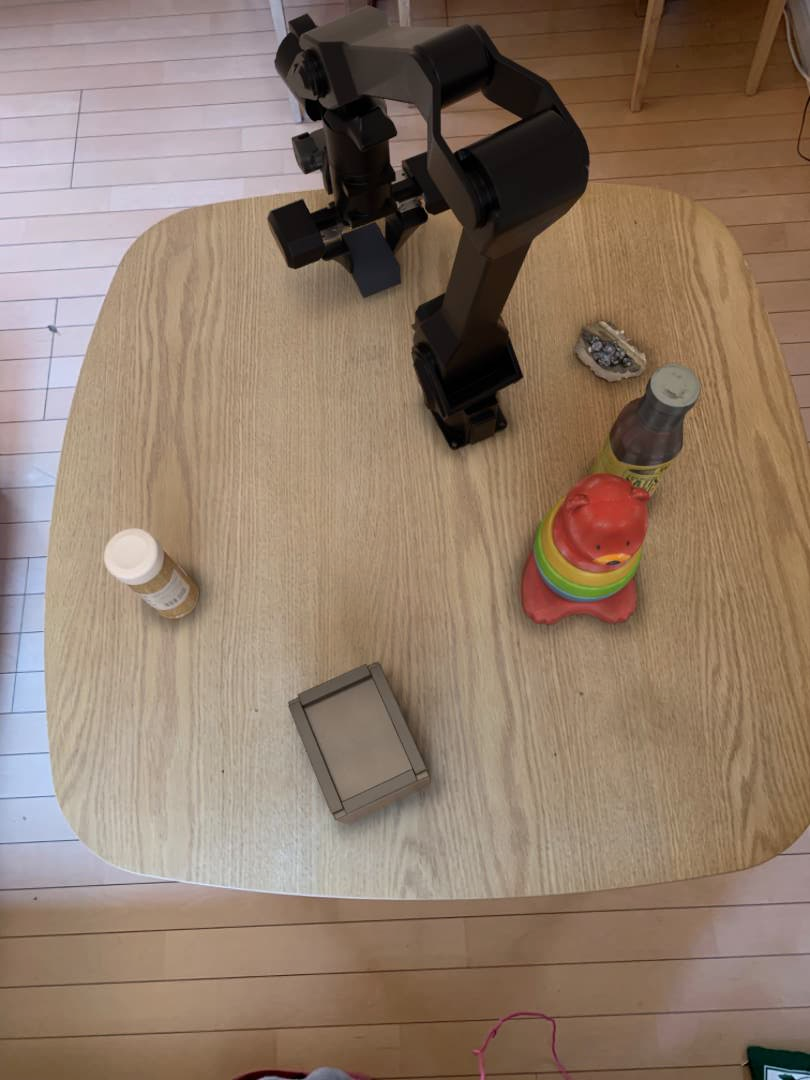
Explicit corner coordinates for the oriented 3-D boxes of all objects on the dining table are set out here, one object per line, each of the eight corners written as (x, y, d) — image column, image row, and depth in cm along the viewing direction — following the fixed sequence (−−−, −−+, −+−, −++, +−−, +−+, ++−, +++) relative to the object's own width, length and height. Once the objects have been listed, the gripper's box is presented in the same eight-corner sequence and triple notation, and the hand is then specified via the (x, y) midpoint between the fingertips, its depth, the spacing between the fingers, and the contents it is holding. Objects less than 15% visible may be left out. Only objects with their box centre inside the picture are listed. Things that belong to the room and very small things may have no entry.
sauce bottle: (606, 530, 83) (657, 437, 65) (573, 478, 85) (613, 374, 66) (663, 500, 84) (729, 401, 65) (629, 450, 86) (683, 339, 67)
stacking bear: (522, 625, 80) (546, 566, 63) (516, 525, 84) (537, 444, 67) (637, 624, 80) (691, 564, 63) (627, 523, 83) (675, 441, 67)
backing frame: (305, 719, 78) (285, 699, 67) (384, 683, 79) (377, 658, 68) (347, 824, 74) (333, 820, 64) (430, 785, 75) (429, 775, 65)
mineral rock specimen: (588, 315, 92) (591, 305, 90) (658, 343, 90) (663, 333, 88) (563, 364, 90) (566, 354, 88) (635, 393, 88) (639, 384, 86)
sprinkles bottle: (190, 567, 83) (146, 517, 71) (206, 608, 82) (165, 563, 69) (146, 587, 83) (94, 540, 70) (162, 628, 81) (112, 587, 68)
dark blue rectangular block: (340, 254, 94) (337, 235, 91) (377, 239, 94) (375, 220, 92) (363, 298, 92) (361, 281, 89) (401, 283, 92) (400, 265, 89)
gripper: (414, 58, 81) (417, 179, 96) (232, 125, 79) (263, 238, 94) (465, 139, 77) (460, 253, 92) (275, 212, 75) (301, 316, 90)
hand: (370, 262), depth 92 cm, fingers closed on dark blue rectangular block, 4 cm apart
